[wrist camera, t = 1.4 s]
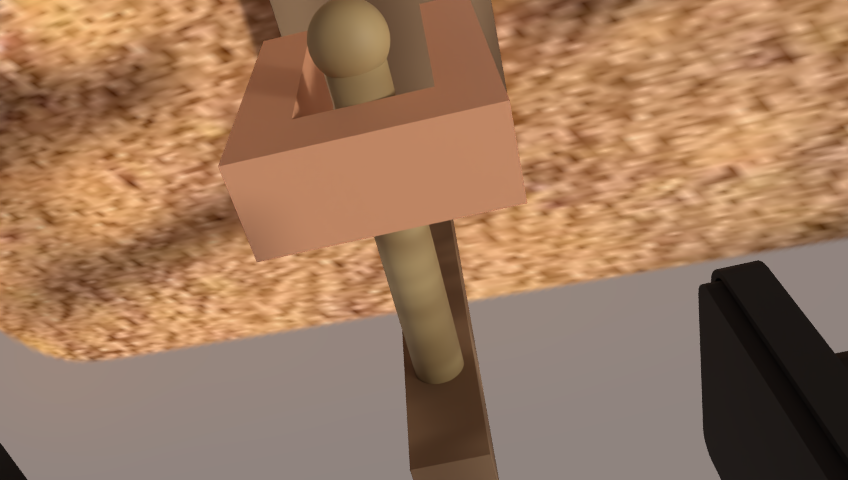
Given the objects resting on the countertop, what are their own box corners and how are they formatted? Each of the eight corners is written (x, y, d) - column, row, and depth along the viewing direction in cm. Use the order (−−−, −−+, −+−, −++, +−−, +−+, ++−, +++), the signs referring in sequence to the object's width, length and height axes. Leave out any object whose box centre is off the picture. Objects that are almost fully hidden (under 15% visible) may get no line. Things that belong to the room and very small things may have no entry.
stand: (462, -150, 31) (587, -7, 13) (510, 129, 38) (639, 480, 20) (245, -96, 32) (84, 112, 14) (330, 170, 39) (296, 546, 21)
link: (467, -8, 22) (509, 100, 16) (482, 71, 24) (527, 202, 17) (263, 41, 23) (218, 166, 16) (288, 116, 24) (256, 261, 17)
